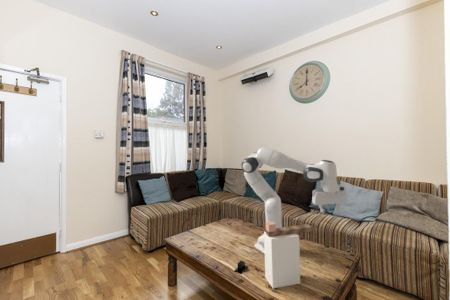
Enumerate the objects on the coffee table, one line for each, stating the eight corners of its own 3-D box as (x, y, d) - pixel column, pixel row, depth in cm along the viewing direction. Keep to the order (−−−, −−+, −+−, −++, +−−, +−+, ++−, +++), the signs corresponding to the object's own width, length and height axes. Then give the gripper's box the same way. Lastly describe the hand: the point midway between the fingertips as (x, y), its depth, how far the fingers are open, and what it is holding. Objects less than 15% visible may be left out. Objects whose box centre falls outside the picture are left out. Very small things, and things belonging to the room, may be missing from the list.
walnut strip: (269, 237, 113) (269, 232, 113) (265, 233, 117) (265, 229, 117) (312, 231, 118) (312, 227, 118) (307, 228, 123) (307, 224, 123)
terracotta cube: (268, 232, 113) (268, 224, 113) (265, 229, 117) (265, 222, 117) (275, 231, 114) (275, 224, 114) (272, 228, 118) (272, 221, 118)
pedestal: (272, 288, 110) (271, 239, 110) (265, 277, 120) (263, 231, 120) (300, 283, 114) (299, 235, 113) (290, 272, 124) (289, 228, 123)
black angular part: (241, 263, 136) (241, 256, 136) (251, 266, 132) (251, 259, 132) (231, 273, 126) (230, 265, 126) (241, 277, 122) (241, 269, 122)
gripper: (315, 190, 119) (316, 214, 119) (348, 187, 122) (349, 211, 122) (309, 188, 125) (310, 211, 125) (341, 185, 128) (342, 208, 128)
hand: (329, 211), depth 124 cm, fingers open, 8 cm apart
